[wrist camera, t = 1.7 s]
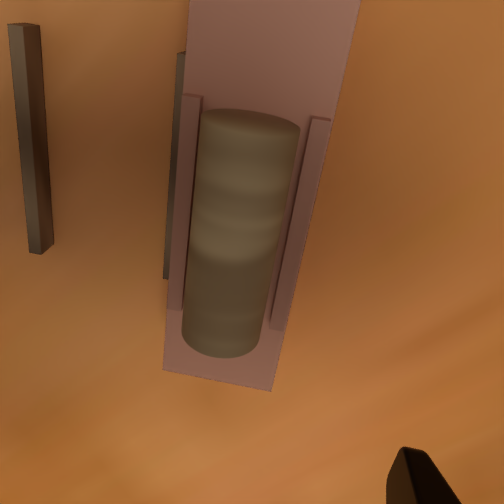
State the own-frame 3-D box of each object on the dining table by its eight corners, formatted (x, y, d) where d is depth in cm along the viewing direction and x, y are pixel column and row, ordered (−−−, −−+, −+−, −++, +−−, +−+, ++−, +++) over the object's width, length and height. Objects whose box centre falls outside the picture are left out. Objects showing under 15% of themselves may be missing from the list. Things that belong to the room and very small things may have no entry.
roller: (263, 315, 19) (254, 365, 16) (191, 301, 19) (171, 349, 16) (301, 119, 15) (299, 143, 12) (212, 103, 15) (190, 123, 13)
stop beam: (277, 336, 24) (270, 400, 20) (184, 318, 25) (159, 377, 21) (354, -11, 17) (366, -16, 13) (218, -33, 17) (188, -46, 13)
